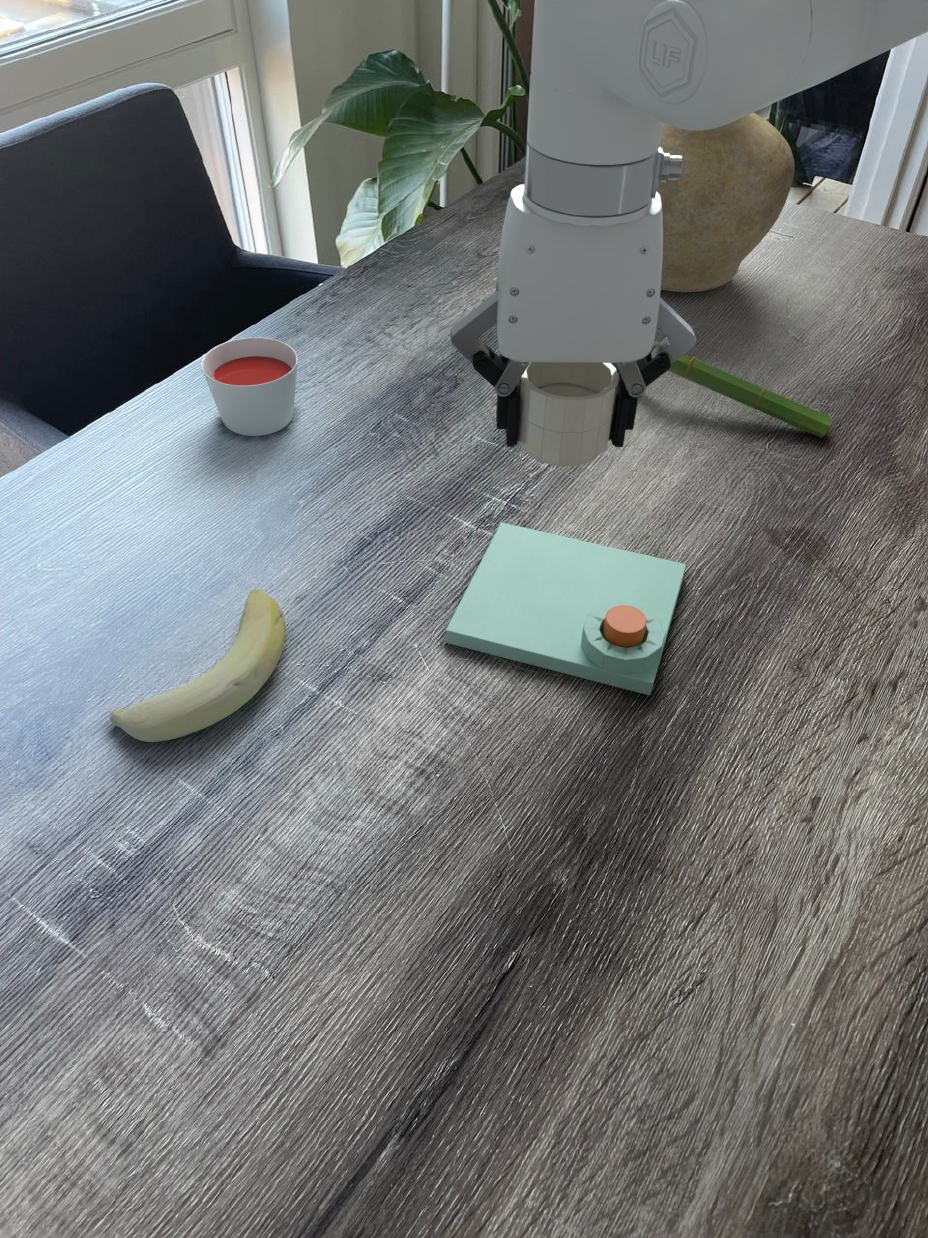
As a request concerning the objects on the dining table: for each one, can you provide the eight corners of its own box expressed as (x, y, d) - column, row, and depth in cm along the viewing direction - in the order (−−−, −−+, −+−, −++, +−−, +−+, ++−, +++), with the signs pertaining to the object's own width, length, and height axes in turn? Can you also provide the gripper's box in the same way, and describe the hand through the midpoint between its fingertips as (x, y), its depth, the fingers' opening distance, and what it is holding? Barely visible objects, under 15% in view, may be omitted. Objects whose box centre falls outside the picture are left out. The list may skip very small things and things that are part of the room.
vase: (785, 321, 115) (862, 26, 94) (590, 317, 115) (623, 21, 94) (747, 238, 131) (805, -29, 110) (576, 235, 131) (601, -34, 110)
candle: (225, 452, 95) (214, 394, 90) (202, 404, 100) (191, 347, 96) (315, 431, 97) (309, 374, 93) (288, 386, 103) (281, 330, 99)
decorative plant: (826, 438, 94) (539, 312, 98) (791, 494, 101) (524, 374, 105) (842, 398, 97) (563, 278, 101) (806, 455, 104) (547, 341, 108)
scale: (683, 576, 83) (690, 548, 81) (650, 696, 73) (656, 668, 71) (500, 534, 86) (501, 506, 84) (445, 643, 77) (445, 615, 75)
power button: (647, 625, 75) (650, 610, 74) (639, 652, 73) (642, 637, 72) (608, 615, 76) (610, 600, 74) (599, 642, 73) (601, 627, 72)
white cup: (618, 427, 72) (628, 358, 68) (596, 478, 68) (606, 408, 64) (530, 409, 74) (535, 341, 70) (503, 458, 69) (507, 389, 65)
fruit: (327, 645, 77) (323, 613, 74) (179, 773, 68) (170, 742, 65) (258, 607, 80) (253, 576, 77) (108, 725, 71) (97, 693, 68)
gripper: (725, 153, 61) (676, 407, 73) (439, 150, 60) (439, 406, 73) (753, 203, 55) (695, 468, 68) (439, 199, 55) (439, 467, 67)
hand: (563, 434), depth 70 cm, fingers closed on white cup, 6 cm apart
